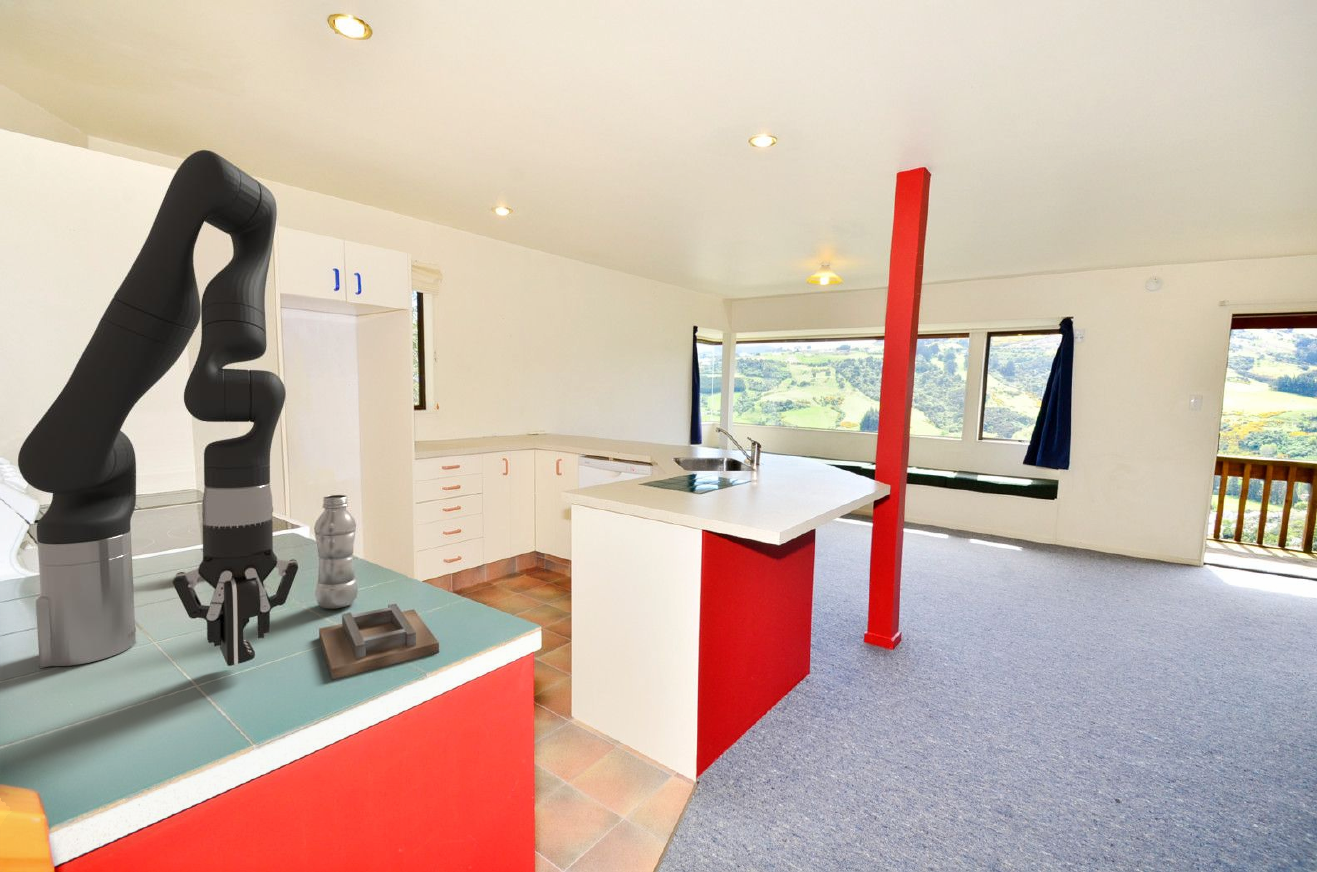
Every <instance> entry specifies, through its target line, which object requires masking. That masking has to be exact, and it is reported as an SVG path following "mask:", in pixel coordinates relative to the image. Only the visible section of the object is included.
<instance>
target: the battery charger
mask: <svg viewBox="0 0 1317 872" xmlns="http://www.w3.org/2000/svg"><path fill="white" fill-rule="evenodd" d="M260 611H261V607H260V592H259V585H258V582H257V581H256V580H255V579H247V578H246V577H240V578H231V580H230V581H226V582H225V583H224V601H223V604H222V606H221V609H220V612H219V614H221V645H220V646H219V647H220V653H221V654H222V657H223V658H224V661H225V663H226V665H227V666H228V667H232V666H238V665H240V664H243V663H246V662H249V661H251V660H253V659H255V657H256V652H255V650H254V648H253V647H252V646H253V645H252V644H251V643H250V641H249V640H246V639H244V630H245V628H246V626H247V625H248V623H250V618H251V619H252V618H255V617H257V616H258V615H259V614H260Z"/></svg>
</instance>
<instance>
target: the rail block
mask: <svg viewBox="0 0 1317 872" xmlns="http://www.w3.org/2000/svg"><path fill="white" fill-rule="evenodd" d="M318 634H319V635H318V636H319V641H320V644H322V645H321V648H322V650H323V653H324V657H325V661H326V663H327V667H328V670H329V673H330V674H329V675H330V677H331V679H332V680H335V679H339V678H343V677H347V676H353V675H356V674H359V673H364V672H367V671H371V670H375V669H380V668H383V667H386V666H391V665H394V664H398V663H402V662H406V661H410V660H415V659H418V658H421V657H422V658H423V657H426V656H429V655H432V654H437V653H440V643H439V642H440V641H438V639H437V638H436V637H435V635H434V634H433V633H432V631H431V630H430V629H429V628H428V626H427V625H426V623H425V622H424V621H423V620H422V618H421V616H419V614H418V613H417V611H416V610H415V609H414V608H413V609H408V610H401V609H400V607H399V606H398V604H397V603H394V604H388V605H387V607H384V608H379V609H373V610H370V611H364V612H363V611H362V612H359V613H353V614H352V612H346V613H342V614H341V624H340V623H339V624H336V625H335V624H334V625H331V626H326V627H321V628H319V630H318Z"/></svg>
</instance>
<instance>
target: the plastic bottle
mask: <svg viewBox="0 0 1317 872" xmlns="http://www.w3.org/2000/svg"><path fill="white" fill-rule="evenodd" d="M322 501H323V503H322V509H324V510H323V512H322V513H321V514H320V515H319V517H318V518H317V520H316V521H315V524H314V528H313V530H314V536H315V542H316V546H317V556H318V574H317V575H318V576H317V584H316V588H315V598H316V602H317V604H318V605H319V607H321V608H322V609H329V610H330V609H340V608H345V607H348V606H350V605H352V604H354V602H355V601H356V599H357V597H358V592H359V589H358V582H357V578H356V575H355V566H354V564H355V563H354V551H355V549H354V548H355V547H354V546H355V545H354V544H355V539H356V530H357V523H356V520H355V518H354V517H353V515H352V514H351V513H350V512H349V511H348V509H347V507H348V506H349V503H348V495H346V494H331V495H326V496H323V497H322Z"/></svg>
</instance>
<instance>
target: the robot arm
mask: <svg viewBox="0 0 1317 872" xmlns="http://www.w3.org/2000/svg"><path fill="white" fill-rule="evenodd" d="M277 209H278V208H277V202H276V198H275V196H274V195H273V193H272V192H271V190H269V189H268V187H266V186H265V185H264V184H262V183H261V182H260V181H258V180H257V179H255V178H253V176H251V175H249V174H248V173H246V172H245V171H243V170H242V169H240V168H239V167H237V166H236V165H234V164H233V163H231V162H230V161H229V160H227V159H226V158H224V157H222V156H221V155H220V154H217V153H216V152H214V151H212V150H207V149H201V150H198V151H194V152H193V153H191V154H190V155H189V156H188V157H186V158H185V159H184V160H183V162H182V163H181V164H180V166H179V167H178V168H177V170H176V171H175V173H174V175H173V177H172V179H171V181H170V183H169V185H168V188H167V190H166V192H165V194H164V197H163V199H162V201H161V204H160V206H159V209H158V211H157V213H156V216H155V218H154V221H153V223H152V226H151V227H150V231H149V233H148V236H147V237H146V239H145V240H144V243H143V245H142V247H141V249H140V250H139V253H138V254H137V257H136V258H135V260H134V262H133V264H132V265H131V267H130V269H129V271H128V272H127V275H126V276H125V277H124V279H123V281H122V282H121V284H120V286H119V287H118V289H117V290H116V291H115V292H114V293H115V294H114V295H113V297H112V299H111V300H110V302H109V303H108V306H107V307H106V310H105V311H104V313H103V314H102V317H101V318H100V320H99V322H98V324H97V325H96V326H97V327H96V328H95V330H94V332H93V335H92V336H91V338H90V339H89V342H88V344H87V345H86V347H85V348H84V350H83V352H82V354H81V356H80V357H79V359H78V361H77V363H76V365H75V367H74V369H73V371H72V372H71V375H70V376H69V378H68V381H67V382H66V384H65V386H63V389H62V390H61V392H60V393H59V394H58V396H57V397H56V399H55V400H54V401H53V402H52V404H51V405H50V407H49V408H48V409H47V411H46V412H45V413H44V415H43V416H42V417H41V419H40V420H39V421H38V422H37V424H36V425H35V426H34V427H33V429H32V430H31V431H30V433H29V434H28V436H27V437H26V438H25V440H24V441H23V443H22V445H21V447H20V449H19V453H18V457H17V467H18V469H19V473H20V474H21V476H22V478H23V480H25V482H26V483H27V484H28V485H29V486H31V487H32V488H34V489H36V490H38V491H40V492H42V493H43V492H44V493H48V494H52V499H51V503H50V505H49V506H48V508H47V510H46V512H45V513H44V514H43V515H42V516H41V518H40V519H39V520H38V521H37V524H36V540H37V553H38V554H37V556H38V570H39V571H38V572H39V587H40V589H39V590H40V596H38V598H37V599H36V601H35V612H36V628H37V629H36V630H37V642H38V644H37V645H38V659H39V668H42V669H43V668H46V667H65V666H66V667H68V666H78V665H82V664H88V663H91V662H96V661H101V660H105V659H107V658H110V657H114V656H115V655H119V654H120V653H123V652H125V651H126V650H129V649H130V648H132V647H133V646H134V645H135V644H136V641H137V638H136V636H137V635H136V632H137V631H136V630H137V628H136V617H135V616H136V615H135V614H136V613H135V596H134V595H135V594H134V591H135V590H134V571H133V554H132V553H133V552H132V550H133V549H132V531H131V529H132V527H131V520H132V517H133V514H134V512H135V509H136V503H137V459H136V452H135V448H134V446H133V443H132V441H131V439H130V438H129V437H128V436H127V435H126V433H124V432H123V431H122V428H123V425H124V423H125V421H126V420H127V417H128V416H129V414H130V412H131V411H132V409H133V408H134V406H135V405H136V404H137V403H138V402H139V400H140V399H141V398H142V397H144V396H145V394H146V393H148V391H149V390H150V389H152V387H153V386H155V385H156V384H157V383H158V382H159V381H160V380H161V379H162V378H163V377H164V376H165V374H167V372H168V371H170V369H171V368H173V366H174V365H175V364H176V363H177V361H178V360H179V358H180V357H181V355H182V354H183V352H184V351H185V349H186V348H187V346H188V344H189V342H190V340H191V339H192V337H193V335H194V333H195V331H196V329H197V327H198V326H199V322H200V321H201V337H200V338H201V340H200V345H199V351H198V355H197V358H196V361H195V363H194V365H193V367H192V370H191V372H190V375H189V376H188V379H187V381H186V385H185V388H184V392H183V402H184V406H185V408H186V410H187V412H188V413H189V414H190V415H191V416H192V417H193V418H195V419H197V420H198V421H201V422H207V423H249V422H250V423H253V425H252V428H251V429H250V430H249V431H248V432H247V433H245V434H243V435H240V436H237V437H232V438H227V439H220V440H216V441H212V442H210V443H208V444H207V445H206V446H205V448H204V452H203V480H204V481H203V483H204V487H203V489H204V490H203V497H202V502H201V504H202V505H201V506H202V507H201V511H202V512H201V515H202V517H201V518H202V519H201V520H202V521H201V522H202V523H201V525H202V561H201V562H200V564H199V566H198V568H195V569H192V570H189V571H186V572H184V571H179V572H177V573H176V574H175V576H174V578H173V580H172V586H173V588H174V589H175V591H176V593H177V595H178V597H179V600H180V601H181V603H182V605H183V607H184V609H185V611H186V613H187V615H188V617H189V618H190V619H204V621H206V640H207V642H208V643H209V644H212V643H213V647H218V646H219V647H220V645H221V614H219V612H220V609H221V606H222V604H223V601H224V583H225V582H226V581H230V580H231V578H240V577H246V578H247V579H255V580H256V581H257V582H258V585H259V592H260V607H261V611H260V614H259V615H258V616H256V617H257V639H259V640H260V639H264V638H265V634H269V632H270V629H271V611H272V609H273V608H275V607H278V606H283V605H284V604H286V601H287V599H288V596H289V594H290V591H291V588H292V586H293V583H294V581H295V578H296V575H297V573H298V570H299V565H298V564H299V563H298V561H297V560H296V559H290V560H285V559H280V558H279V559H278V557H277V555H276V554H275V553H274V545H273V544H274V541H273V540H274V538H273V536H274V533H273V531H274V530H273V529H274V528H273V526H274V525H273V519H274V518H273V517H274V516H273V515H274V514H273V512H274V507H273V506H274V505H273V495H272V489H271V451H272V450H271V449H272V443H273V438H274V434H275V431H276V427H277V424H278V422H279V419H280V417H281V414H282V412H283V408H284V405H285V401H286V395H287V394H286V392H287V391H286V387H285V384H284V382H283V381H282V379H281V378H280V377H279V376H278V375H277V374H276V373H275V372H272V371H269V370H262V369H260V370H259V369H241V368H237V369H236V368H224V367H226V366H229V365H231V364H237V363H244V362H250V361H254V360H257V359H261V357H263V356H264V355H265V353H266V351H267V343H268V342H267V325H266V308H265V307H266V304H265V303H266V301H265V300H266V299H265V298H266V296H265V295H266V286H267V278H268V272H269V267H270V262H271V256H272V251H273V246H274V245H273V244H274V237H275V231H276V225H277V213H278V211H277ZM204 223H207V224H208V225H210V226H212V227H214V228H216V229H218V230H219V231H221V232H223V233H225V234H227V235H229V236H230V239H231V241H232V249H233V253H232V258H231V259H230V261H229V262H228V264H226V265H225V267H223V268H222V269H221V270H220V271H219V272H217V274H215V275H214V277H213V278H212V279H211V280H210V281H209V282H208V283H207V285H206V287H205V288H204V291H203V292H202V293H203V294H202V297H201V298H200V292H199V289H198V287H199V286H198V283H197V278H196V273H195V272H196V271H195V267H194V266H195V265H194V254H195V253H194V251H195V247H196V244H197V241H198V237H199V235H200V231H201V230H202V228H203V225H204ZM200 299H201V300H200ZM275 568H277V569H278V576H279V577H281V579H280V581H279V582H280V583H278V587H277V589H276V591H275V594H273V595H270V596H269V595H268V592H267V589H266V585H265V583H264V582H265V580H266V579H267V578H268V576H269V575H270V574H271V573H272V572H273V571H274V569H275ZM200 577H201V578H202V579H203V580H204V581H205V582H206V583H207V584H208V585H210V587H212V588H213V589H214V591H213V594H212V598H211V600H210V604H209V605H206V604H202V603H201V601H200V598H199V596H198V595H197V592H196V590H195V587H196V586H197V584H198V578H200Z"/></svg>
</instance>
